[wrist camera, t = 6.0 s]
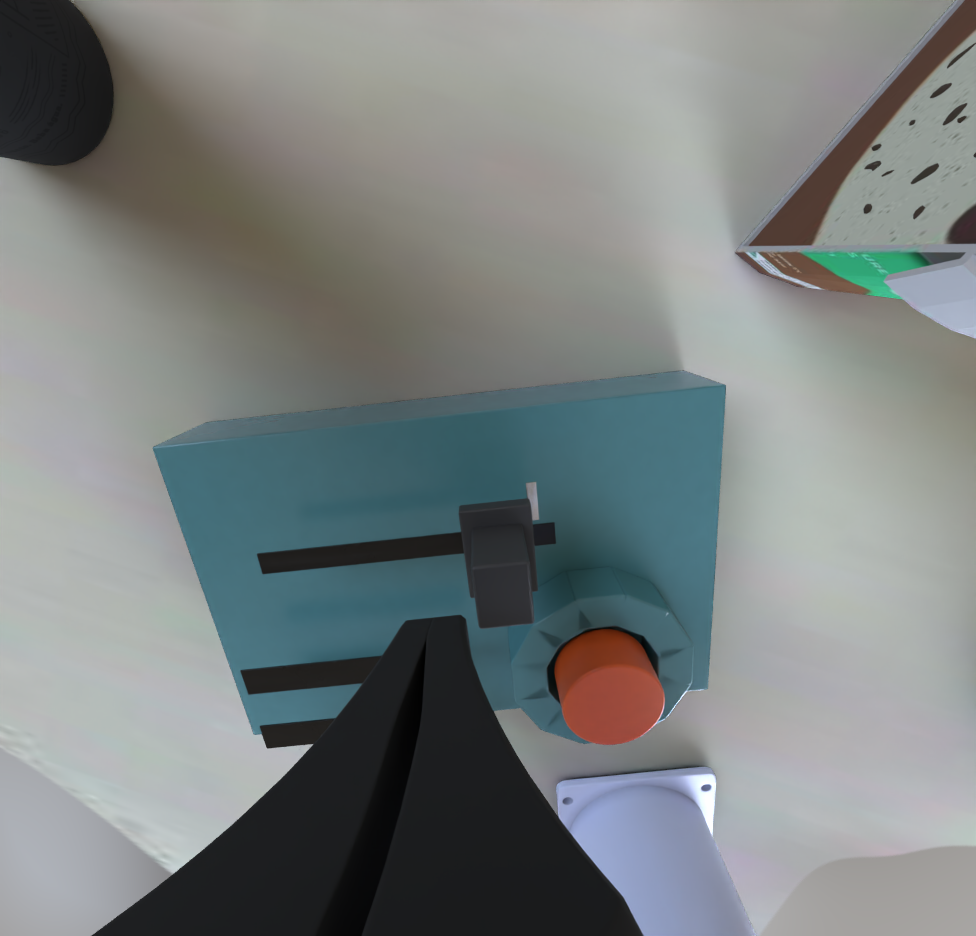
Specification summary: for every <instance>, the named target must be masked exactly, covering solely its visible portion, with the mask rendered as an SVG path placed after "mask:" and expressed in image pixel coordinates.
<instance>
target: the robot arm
mask: <svg viewBox="0 0 976 936" xmlns="http://www.w3.org/2000/svg"><path fill="white" fill-rule="evenodd" d="M715 789H716V775H715V773H714V771H713V770H712V769H711V768H709V767H694V768H684V769H674V770H663V771H653V772H643V773H633V774H623V775H612V776H602V777H592V778H582V779H572V780H564V781H561V782H559V783H558V785H557V787H556V792H557V805H558V816H557V815H556V813H555V812H554V810H553V809H552V807H551V806H550V804H549V803H548V801H547V800H546V799H545V797H544V796H543V794H542V793H541V791H540V790H539V788H538V787H537V786H536V784H535V783H534V781H533V780H532V778H531V777H530V775H529V774H528V772H527V771H526V769H525V767H524V766H523V764H522V762H521V761H520V759H519V757H518V756H517V754H516V753H515V751H514V749H513V747H512V746H511V744H510V742H509V740H508V738H507V737H506V735H505V733H504V731H503V729H502V727H501V725H500V724H499V722H498V720H497V718H496V716H495V713H494V711H493V709H492V707H491V705H490V703H489V701H488V698H487V696H486V694H485V692H484V689H483V687H482V684H481V682H480V679H479V676H478V674H477V671H476V668H475V666H474V663H473V660H472V656H471V649H470V642H469V635H468V628H467V621H466V618H464V617H463V616H462V615H453V616H443V617H433V618H424V619H414V620H406V621H405V622H404V623H403V624H402V626H401V627H400V629H399V630H398V632H397V634H396V635H395V637H394V638H393V640H392V641H391V643H390V644H389V646H388V647H387V649H386V650H385V652H384V653H383V655H382V656H381V658H380V659H379V661H378V662H377V664H376V665H375V667H374V668H373V669H372V671H371V672H370V674H369V675H368V676H367V678H366V679H365V680H364V682H363V683H362V685H361V686H360V687H359V689H358V690H357V692H356V693H355V694H354V696H353V697H352V698H351V699H350V701H349V702H348V703H347V704H346V706H345V707H344V708H343V709H342V711H341V712H340V713H339V714H338V716H337V717H336V718H335V719H334V721H333V722H332V723H331V724H330V726H329V727H328V728H327V729H326V730H325V732H324V733H323V734H322V735H321V736H320V737H319V739H318V740H317V741H316V742H315V743H314V744H313V745H312V747H311V748H310V749H309V750H308V751H307V752H306V753H305V754H304V755H303V756H302V758H301V759H300V760H299V761H298V762H297V763H296V764H295V765H294V766H293V767H292V768H291V769H290V770H289V771H288V772H287V773H286V774H285V775H284V776H283V777H282V778H281V779H280V780H279V781H278V782H277V783H276V784H275V785H274V786H273V787H272V788H271V789H270V790H269V791H268V792H267V793H266V794H265V795H264V796H263V797H261V798H260V799H259V800H258V801H257V802H256V803H255V804H254V805H253V806H252V807H251V808H250V809H249V810H248V811H247V812H246V813H245V814H243V815H242V816H241V817H240V818H239V819H238V820H237V821H236V822H235V823H234V824H233V825H231V826H230V827H229V828H228V829H227V830H226V831H224V832H223V833H222V834H221V835H220V836H219V837H218V838H216V839H215V840H214V841H213V842H212V843H211V844H209V845H208V846H207V847H206V848H205V849H203V850H202V851H201V852H200V853H199V854H197V855H196V856H195V857H194V858H192V859H191V860H190V861H189V862H188V863H186V864H185V865H184V866H183V867H181V868H180V869H179V870H178V871H177V872H175V873H174V874H173V875H172V876H170V877H169V878H168V879H167V880H165V881H164V882H163V883H161V884H160V885H159V886H158V887H157V888H155V889H154V890H152V891H151V892H150V893H148V894H147V895H146V896H144V897H143V898H142V899H140V900H139V901H138V902H136V903H135V904H134V905H132V906H131V907H130V908H128V909H127V910H126V911H124V912H123V913H121V914H120V915H119V916H117V917H116V918H115V919H114V920H112V921H111V922H110V923H108V924H107V925H105V926H104V927H103V928H101V929H100V930H99V931H97V932H96V933H95V934H93V935H92V936H756V934H755V932H754V929H753V927H752V925H751V922H750V920H749V918H748V916H747V913H746V911H745V909H744V906H743V904H742V902H741V900H740V897H739V895H738V893H737V891H736V888H735V886H734V884H733V881H732V879H731V877H730V875H729V872H728V870H727V868H726V866H725V863H724V861H723V859H722V856H721V854H720V852H719V850H718V847H717V845H716V843H715V841H714V838H713V836H712V830H713V816H714V803H715Z"/></svg>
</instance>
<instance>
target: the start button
mask: <svg viewBox="0 0 976 936" xmlns="http://www.w3.org/2000/svg"><path fill="white" fill-rule="evenodd" d="M554 674H555V680H556V684H557V689H558V694H559V699H560V704H561V708H562V713H563V717H564V720H565V722H566V724H567V725H568V727H569V728H570V729H571V730H572V731H573V732H574V733H575V734H576V735H577V736H579V737H580V738H582V739H584V740H586V741H589V742H592V743H596V744H602V745H615V744H622V743H626V742H629V741H632V740H634V739H637V738H639V737H640V736H642V735H644V734H645V733H647V732H648V731H649V730H650V729H651V728H652V727H654V725H655V724H656V723H657V722H658V720H659V719H660V717H661V715H662V713H663V709H664V704H665V695H664V690H663V688H662V685H661V683H660V681H659V679H658V677H657V675H656V673H655V671H654V669H653V667H652V664H651V662H650V660H649V658H648V656H647V654H646V652H645V650H644V648H643V647H642V645H641V644H640V643H639V642H638V641H637V640H636V639H635V638H633V637H632V636H630V635H629V634H627V633H624V632H622V631H618V630H613V629H597V630H592V631H588V632H585V633H583V634H580V635H578V636H576V637H575V638H573V639H572V640H571V641H569V642H568V643H567V644H566V645H565V646H564V647H563V649H562V650H561V651H560V653H559V655H558V657H557V660H556V663H555V668H554Z"/></svg>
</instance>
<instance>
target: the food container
mask: <svg viewBox="0 0 976 936" xmlns="http://www.w3.org/2000/svg"><path fill="white" fill-rule="evenodd" d="M735 253H736V254H737V255H739V256H740V257H741V258H742V259H744V260H745V261H746V262H747V263H748V264H750V265H751V266H752V267H753V268H754V269H756V270H757V271H758V272H760V273H762V274H765V275H768V276H771V277H773V278H776V279H779V280H781V281H784V282H787V283H789V284H792V285H795V286H798V287H806V288H814V289H822V290H831V291H839V292H847V293H855V294H864V295H872V296H880V297H888V298H897V299H904V300H905V301H906V302H907V303H908V304H909V305H910V306H911V307H913V308H914V309H915V310H917V311H919V312H920V313H922V314H924V315H926V316H927V317H929V318H931V319H932V320H934V321H936V322H938V323H939V324H941V325H943V326H945V327H946V328H948V329H950V330H952V331H955V332H958V333H961V334H964V335H967V336H970V337H973V338H976V0H955V2H954V3H953V4H952V5H951V6H950V7H949V8H948V10H947V11H946V12H945V13H944V14H943V15H942V16H941V17H940V19H939V20H938V21H937V22H936V23H935V24H934V25H933V27H932V28H931V29H930V30H929V31H928V32H927V33H926V35H925V36H924V37H923V38H922V39H921V40H920V41H919V43H918V44H917V45H916V46H915V47H914V48H913V49H912V51H911V52H910V53H909V54H908V55H907V56H906V57H905V59H904V60H903V61H902V62H901V63H900V64H899V65H898V66H897V68H896V69H895V70H894V71H893V72H892V73H891V74H890V76H889V77H888V78H887V79H886V80H885V81H884V82H883V84H882V85H881V86H880V87H879V88H878V89H877V90H876V92H875V93H874V94H873V95H872V96H871V97H870V98H869V100H868V101H867V102H866V103H865V104H864V105H863V106H862V108H861V109H860V110H859V111H858V112H857V113H856V114H855V115H854V117H853V118H852V119H851V120H850V121H849V122H848V123H847V125H846V126H845V127H844V128H843V129H842V130H841V131H840V133H839V134H838V135H837V136H836V137H835V138H834V139H833V141H832V142H831V143H830V144H829V145H828V146H827V147H826V149H825V150H824V151H823V152H822V153H821V154H820V155H819V157H818V158H817V159H816V160H815V161H814V162H813V163H812V164H811V166H810V167H809V168H808V169H807V170H806V171H805V172H804V174H803V175H802V176H801V177H800V178H799V179H798V180H797V182H796V183H795V184H794V185H793V186H792V187H791V188H790V190H789V191H788V192H787V193H786V194H785V195H784V196H783V198H782V199H781V200H780V201H779V202H778V203H777V204H776V206H775V207H774V208H773V209H772V210H771V211H770V212H769V213H768V215H767V216H766V217H765V218H764V219H763V220H762V221H761V223H760V224H759V225H758V226H757V227H756V228H755V229H754V231H753V232H752V233H751V234H750V235H749V236H748V237H747V239H746V240H745V241H744V242H743V243H742V244H741V245H740V247H739V248H738V249H737V250H736V251H735Z"/></svg>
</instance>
